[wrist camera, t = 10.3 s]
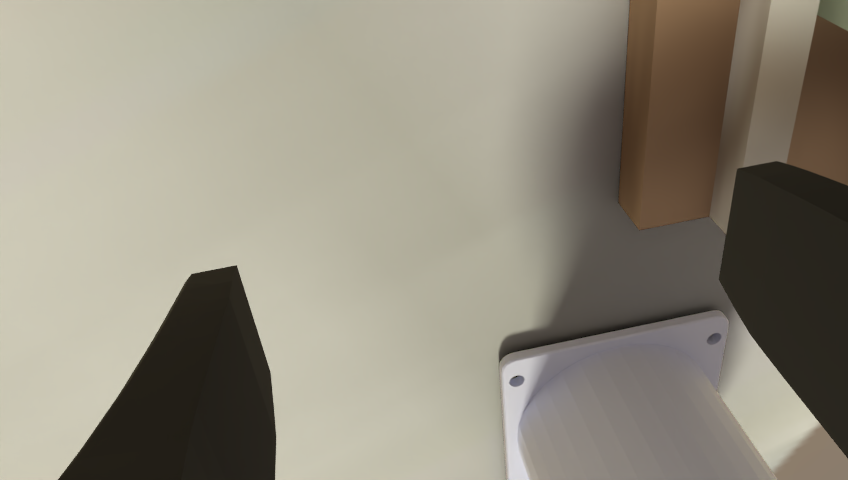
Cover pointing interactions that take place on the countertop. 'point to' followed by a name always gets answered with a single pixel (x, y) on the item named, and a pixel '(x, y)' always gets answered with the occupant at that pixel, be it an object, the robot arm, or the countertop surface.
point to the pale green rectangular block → (834, 12)
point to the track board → (727, 102)
